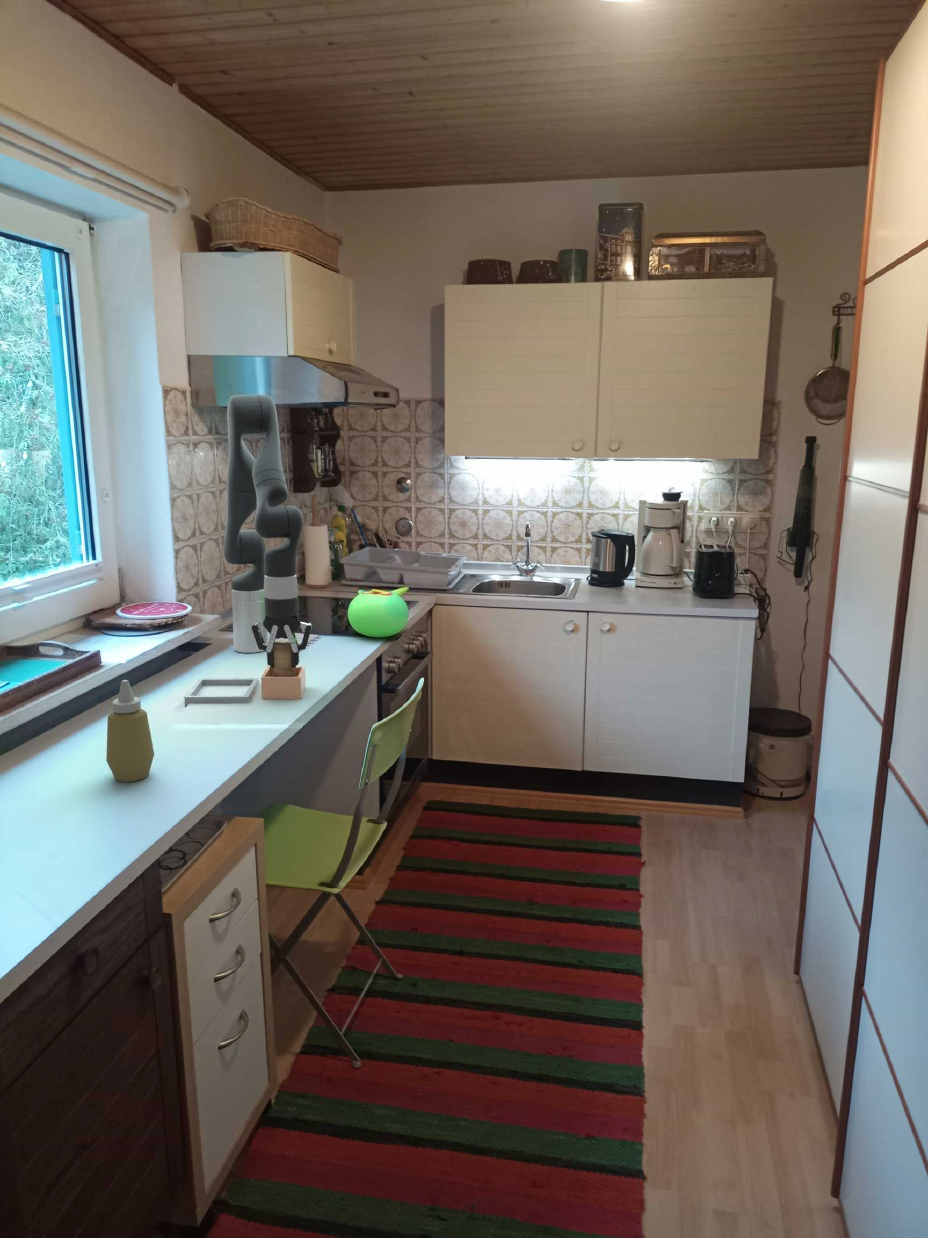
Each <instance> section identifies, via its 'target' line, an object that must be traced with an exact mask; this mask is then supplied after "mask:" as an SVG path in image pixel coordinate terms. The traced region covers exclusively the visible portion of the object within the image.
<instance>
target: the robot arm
mask: <svg viewBox="0 0 928 1238" xmlns="http://www.w3.org/2000/svg"><path fill="white" fill-rule="evenodd" d="M226 410H227V415H226V416H227V417H226V418H227V438H228V441H227V443H228V457H227V474H226V520H225V529H224V537H223V554H224V559H225V560H226V563H228V564H231V565H252V566H251V567H250V568H249V569H248V570H246V571H245V572H243V573H241V574H239V575H237V576H234V577H232V578H231V580H230V588H231V590H230V591H231V606H232V608H231V609H232V633H233V635H232V636H233V637H232V638H233V650H234V651H235V652H239V653H245V654H246V653H247V654H248V653H249V654H251V653H261V652H265V653H266V664H267V666H269V667H270V668H274V665H273V644H274V642H275V641H277V640H279V639H284V640H288V641H289V643H290V644H291V647H292V650H293V652H292V667H293V668H296V667H298V665H300V664H299V663H300V651H304V650H306V647H307V646H308V643H309V640H310V635H311V632H312V628H313V623H312V622H308V623H307V622H303V621H301V618H300V616H299V614H300V613H299V586H298V583H299V582H298V578H297V552H298V551H297V550H298V545H299V542H300V537H301V535H302V531H303V527H304V516H303V513H302V511H301V510H300V509H299V508H298V507H297V506H295V505H283V504H284V503H285V502H286V501H287V500H288V498H289V491H288V486H287V483H286V477H285V474H284V469H283V463H282V454H281V441H280V432H279V431H280V430H279V429H280V428H279V421H278V414H277V412H278V411H277V407H276V404H275V401H274V399H273V397H271V396H270V395H267V394H235V395H232V396H230V398H229V400H228V404H227V409H226ZM245 435H265V440H264V443H263V445H262V448H261V449H260V452H259V453H258V455H257V456H256V458H255V457H254V456H253V454H251V452H250V451H249V449H248V447H247V446H246V444H245V442H244V440H243V436H245ZM254 512H255V515H254V523H253V525H254V529H241V528H242V526H243V525H244V523H245V522H246V521H247V520H248V519H249V517H250V516H251V515H253V513H254ZM280 538H281V539H283V538H285V539H284V540H283V542H282V543H281V544H280V545H279V546H276V547H271V548H269V549H267V548H266V539H280ZM266 549H267V550H266ZM299 628H301V632H302V633H303V636H302V640H301V642H300V643H298V640H297V639H298V638H297V635H296V632H297V630H299ZM268 634H269V635H268Z"/></svg>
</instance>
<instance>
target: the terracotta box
mask: <svg viewBox="0 0 928 1238" xmlns="http://www.w3.org/2000/svg"><path fill="white" fill-rule="evenodd" d="M293 669H294V677H274V668H270V666H266V668H265V669H264V671H263V674H262V675H261V677H260V686H261V687H260V688H261V689H260V690H261V700H302V698H303V696H304V693H305V690H306V688H307V687H306V686H307V684H306V683H307V682H306V679H307V678H306V666H296V668H293Z"/></svg>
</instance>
